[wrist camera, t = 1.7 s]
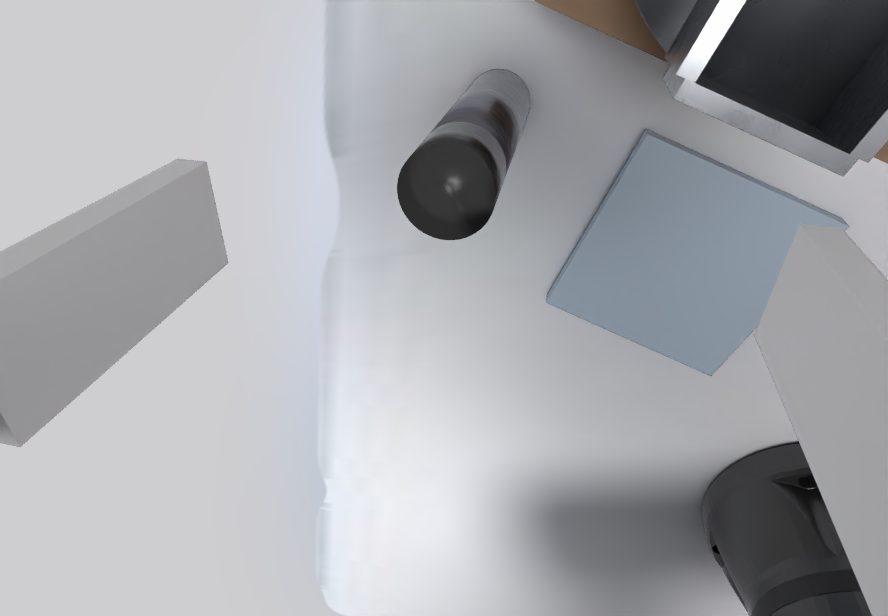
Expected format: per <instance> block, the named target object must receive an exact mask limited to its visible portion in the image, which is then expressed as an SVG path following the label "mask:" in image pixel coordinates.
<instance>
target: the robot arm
mask: <svg viewBox="0 0 888 616" xmlns="http://www.w3.org/2000/svg"><path fill="white" fill-rule="evenodd" d="M227 264H228V259H227V255H226V250H225V246H224V240H223V236H222V231H221V227H220V222H219V218H218V213H217V208H216V203H215V199H214V194H213V190H212V185H211V181H210V176H209V171H208V167H207V162H203V161H194V160H185V159H176V160H174V161H173V162H171V163H169V164H167V165H165V166H163V167H161V168H159V169H157V170H156V171H153V172H152V173H150V174H148V175H146V176H144V177H142V178H140V179H138V180H136V181H134V182H133V183H131V184H129V185H127V186H125V187H123V188H121V189H119V190H117V191H115V192H113V193H111V194H110V195H108V196H106V197H104V198H102V199H100V200H98V201H96V202H94V203H92V204H90V205H89V206H87V207H85V208H83V209H81V210H79V211H77V212H75V213H73V214H71V215H70V216H68V217H66V218H64V219H62V220H60V221H58V222H56V223H54V224H52V225H50V226H48V227H47V228H45V229H43V230H41V231H39V232H37V233H35V234H33V235H31V236H30V237H28V238H26V239H24V240H22V241H20V242H18V243H16V244H14V245H12V246H10V247H8V248H7V249H5V250H3V251H1V252H0V443H4V444H8V445H13V446H18V447H21V446H22V445H23V444H24V443H25V442H27V441H28V440H29V439H30V438H31V437H32V436H33V435H35V434H36V433H37V432H38V431H39V430H40V429H41V428H42V427H44V426H45V425H46V424H47V423H48V422H49V421H50V420H51V419H53V418H54V417H55V416H56V415H57V414H58V413H59V412H61V411H62V410H63V409H64V408H65V407H66V406H67V405H68V404H70V403H71V402H72V401H73V400H74V399H75V398H76V397H77V396H79V395H80V394H81V393H82V392H83V391H84V390H85V389H87V387H89V386H90V385H91V384H92V383H93V382H94V381H96V380H97V379H98V378H99V377H100V376H101V375H102V374H103V373H105V372H106V371H107V370H108V369H109V368H110V367H111V366H112V365H114V364H115V362H117V361H118V360H119V359H120V358H121V357H123V356H124V355H125V354H126V353H127V352H128V351H129V350H131V349H132V348H133V347H134V346H135V345H136V344H137V343H138V342H140V341H141V340H142V339H143V338H144V337H145V336H146V335H147V334H149V333H150V332H151V331H152V330H153V329H154V328H155V327H157V326H158V325H159V324H160V323H161V322H162V321H163V320H164V319H166V318H167V317H168V316H169V315H170V314H171V313H172V312H173V311H175V310H176V309H177V308H178V307H179V306H180V305H181V304H183V302H185V301H186V300H187V299H188V298H189V297H190V296H192V295H193V294H194V293H195V292H196V291H197V290H198V289H199V288H201V287H202V286H203V285H204V284H205V283H206V282H207V281H208V280H210V279H211V278H212V277H213V276H214V275H215V274H216V273H217V272H219V271H220V270H221V269H222V268H223V267H224V266H225V265H227ZM754 336H755V338H756V341H757V343H758V345H759V348H760V350H761V352H762V355H763V357H764V360H765V362H766V364H767V367H768V369H769V371H770V374H771V376H772V379H773V381H774V383H775V386H776V388H777V390H778V393H779V395H780V398H781V400H782V402H783V405H784V407H785V410H786V412H787V414H788V417H789V419H790V421H791V424H792V426H793V429H794V431H795V433H796V436H797V438H798V440H799V444H791V445H785V446H780V447H776V448H772V449H768V450H765V451H762V452H759V453H756V454H754V455H751V456H749V457H747V458H745V459H743V460H741V461H739V462H737V463H735V464H734V465H732V466H731V467H729V468H728V469H726V470H725V471H724V472H723V473H721V474H720V475H719V476H718V477H717V478H716V479H715V480H714V482H713V483H712V484H711V485H710V487H709V488H708V490H707V492H706V494H705V496H704V499H703V503H702V518H703V524H704V529H705V534H706V539H707V542H708V545H709V548H710V550H711V552H712V554H713V556H714V557H715V559H716V561H717V562H718V563H719V565H720V566H721V567H722V568H723V571H724V573H725V575H726V577H727V579H728V580H729V582H730V584H731V586H732V587H733V589H734V591H735V592H736V594H737V596H738V597H739V599H740V601H741V602H742V604H743V606H744V607H745V609H746V611H747V613H748V614H749V616H888V280H887V279H886V278H885V277H884V276H883V274H882V273H881V272H880V271H879V270H878V269H877V268H876V267H875V265H874V264H873V263H872V262H871V261H870V260H869V259H868V258H867V256H866V255H865V254H864V253H863V252H862V251H861V250H860V248H859V247H858V246H857V245H856V244H855V243H854V242H853V241H852V239H851V238H850V237H849V236H848V235H847V234H846V233H845V231H844V230H843V229H842V228H833V227H824V226H814V225H805V224H800V225H799V227H798V230H797V232H796V235H795V237H794V240H793V242H792V244H791V247H790V249H789V252H788V254H787V256H786V259H785V261H784V264H783V266H782V269H781V271H780V273H779V276H778V278H777V281H776V283H775V286H774V288H773V290H772V293H771V295H770V298H769V300H768V303H767V305H766V307H765V310H764V312H763V315H762V317H761V319H760V322H759V324H758V327H757V329H756V332H755V334H754Z"/></svg>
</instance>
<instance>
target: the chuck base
mask: <svg viewBox="0 0 888 616" xmlns="http://www.w3.org/2000/svg"><path fill="white" fill-rule="evenodd" d="M535 1H536V2H538V3H540V4H543V5H545V6H547V7H549V8H551V9H553V10H556V11H558V12H560V13H562V14H564V15H566V16H569V17H571V18H573V19H575V20H577V21H579V22H582V23H584V24H586V25H588V26H590V27H592V28H595V29H597V30H599V31H601V32H603V33H605V34H608V35H610V36H612V37H614V38H616V39H619V40H621V41H623V42H625V43H627V44H629V45H632V46H634V47H636V48H638V49H640V50H642V51H645V52H647V53H649V54H651V55H653V56H655V57H658V58H660V59H662V60H664V61H666V62H667V60H666V59H665V56H666V54H667V53H666V52H665V50H664V49H663V47H662V46H661V44H660V43H659V42H658V40H657V39H656V37H655V36H654V34H653V33H652V32H651V30H650V29H649V27H648V26H647V24H646V23H645V21H644V20H643V18H642V17H641V15H640V13H639V11H638V9H637V7H636V5H635V3H634V1H633V0H535ZM874 157H875V158H877V159H879V160H881V161H883V162H886V163H888V141H887V142H886V143H885V144H884V145H883V146H882V148H881V149H880V150H879V151H878V152H877V153H876V154H875V156H874Z"/></svg>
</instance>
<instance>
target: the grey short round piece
mask: <svg viewBox="0 0 888 616" xmlns="http://www.w3.org/2000/svg"><path fill="white" fill-rule="evenodd" d="M633 1H634V3H635V5H636V7H637V9H638V11H639V13H640V15H641V17H642V18H643V20H644V21H645V23H646V24H647V26H648V27H649V29H650V30H651V32H652V33H653V34H654V36H655V37H656V39H657V40H658V42H659V43H660V44H661V46H662V47H663V49H664V50H665V52H666V53H667V54H666V56H665V59H666V60H667V62H668V63H669V65H670V67H669V68H668V70H667V72H666V74H665V75H664V77H663V80H664V82H665V84H666V86H667V88H668V90H669V92H670V93H671V95H672V97H673V99H675V100H677V101H680V102H682V103H684V104H686V105H688V106H690V107H693V108H695V109H697V110H699V111H701V112H703V113H706V114H708V115H710V116H712V117H714V118H717V119H719V120H721V121H723V122H725V123H727V124H730V125H732V126H734V127H736V128H738V129H741V130H743V131H745V132H747V133H749V134H751V135H754V136H756V137H758V138H760V139H762V140H765V141H767V142H769V143H771V144H773V145H775V146H778V147H780V148H782V149H784V150H786V151H788V152H791V153H793V154H795V155H797V156H799V157H802V158H804V159H806V160H808V161H810V162H812V163H815V164H817V165H819V166H821V167H823V168H826V169H828V170H830V171H832V172H834V173H836V174H839V175H841V176H844V175H845V174H846V173H847V172H848V171H849V169H850V168H851V167H852V166H853V165H854V164H855V163H856V161H857V160H858V159H861V160H863V161H865V162H867V163H868V162H869V161H870V160H871V159H872V158H873V157H874V156H875V154H876V153H877V152H878V151H879V150H880V149H881V148H882V146H883V145H884V144H885V143H886V142H887V141H888V0H633Z"/></svg>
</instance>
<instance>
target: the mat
mask: <svg viewBox="0 0 888 616" xmlns="http://www.w3.org/2000/svg"><path fill="white" fill-rule="evenodd" d="M800 224H805V225H814V226H824V227H833V228H842V229H843V230H844V231H846V230H847V228H848V227H849V225H848V224H847V223H846V222H845V221H844V220H843V219H842V218H840V217H837V216H835V215H833V214H831V213H829V212H827V211H824V210H822V209H820V208H818V207H816V206H813V205H811V204H809V203H807V202H805V201H802V200H800V199H798V198H796V197H794V196H791V195H789V194H787V193H785V192H783V191H781V190H778V189H776V188H774V187H772V186H770V185H767V184H765V183H763V182H761V181H759V180H756V179H754V178H752V177H750V176H748V175H746V174H743V173H741V172H739V171H737V170H735V169H732V168H730V167H728V166H726V165H724V164H721V163H719V162H717V161H715V160H713V159H710V158H708V157H706V156H704V155H702V154H700V153H697V152H695V151H693V150H691V149H689V148H686V147H684V146H682V145H680V144H678V143H675V142H673V141H671V140H669V139H667V138H664V137H662V136H660V135H658V134H656V133H654V132H651V131H649V130H647V129H646V130H645V132H644V133H643V135H642V137H641V138H640V140H639V142H638V143H637V145H636V147H635V148H634V150H633V152H632V153H631V155H630V157H629V158H628V160H627V162H626V163H625V165H624V167H623V168H622V170H621V172H620V173H619V175H618V177H617V179H616V180H615V182H614V184H613V185H612V187H611V189H610V190H609V192H608V194H607V195H606V197H605V199H604V200H603V202H602V204H601V205H600V207H599V209H598V210H597V212H596V214H595V215H594V217H593V219H592V220H591V222H590V224H589V225H588V227H587V229H586V230H585V232H584V234H583V235H582V237H581V239H580V240H579V242H578V244H577V246H576V247H575V249H574V251H573V252H572V254H571V256H570V257H569V259H568V261H567V262H566V264H565V266H564V267H563V269H562V271H561V272H560V274H559V276H558V277H557V279H556V281H555V282H554V284H553V286H552V287H551V289H550V291H549V292H548V294H547V299H546V303H548V304H550V305H552V306H555V307H557V308H559V309H561V310H564V311H566V312H568V313H570V314H573V315H575V316H577V317H579V318H582V319H584V320H586V321H588V322H591V323H593V324H595V325H597V326H600V327H602V328H604V329H606V330H609V331H611V332H613V333H615V334H617V335H620V336H622V337H624V338H626V339H629V340H631V341H633V342H635V343H638V344H640V345H642V346H644V347H647V348H649V349H651V350H653V351H656V352H658V353H660V354H662V355H665V356H667V357H669V358H671V359H674V360H676V361H678V362H680V363H683V364H685V365H687V366H689V367H692V368H694V369H696V370H698V371H700V372H703V373H705V374H707V375H709V376H712V375H713V373H714V372H715V371H716V370H717V369H718V368H719V367H720V366H721V365H722V364H723V363H724V362H725V360H726V359H727V358H728V357H729V356H730V355H731V354H732V353H733V352H734V351H735V350H736V349H737V347H738V346H739V345H740V344H741V343H742V342H743V341H744V340H745V339H746V338H747V337H748V336H749V334H750V333H751V332H752V331H753V330H754V329H755V328H756V327H757V326H758V324H759V322H760V319H761V317H762V315H763V312H764V310H765V307H766V305H767V303H768V300H769V298H770V295H771V293H772V290H773V288H774V286H775V283H776V281H777V278H778V276H779V273H780V271H781V269H782V266H783V264H784V261H785V259H786V256H787V254H788V252H789V249H790V247H791V244H792V242H793V240H794V237H795V235H796V232H797V230H798V227H799V225H800Z"/></svg>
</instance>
